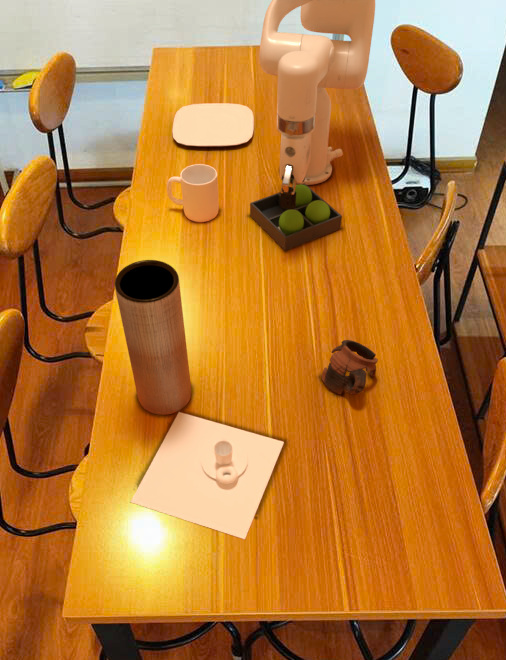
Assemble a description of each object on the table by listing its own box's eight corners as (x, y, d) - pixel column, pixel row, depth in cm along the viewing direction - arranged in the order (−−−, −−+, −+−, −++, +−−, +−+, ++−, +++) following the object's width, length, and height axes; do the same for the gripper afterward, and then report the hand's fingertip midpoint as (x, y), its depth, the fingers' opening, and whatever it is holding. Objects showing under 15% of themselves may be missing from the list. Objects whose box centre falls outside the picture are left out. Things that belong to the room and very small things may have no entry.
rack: (303, 196, 166) (304, 182, 163) (340, 228, 158) (341, 215, 155) (250, 215, 161) (249, 202, 158) (284, 251, 153) (285, 237, 150)
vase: (192, 413, 124) (179, 299, 103) (137, 417, 124) (113, 303, 102) (190, 372, 130) (178, 256, 109) (138, 376, 130) (115, 261, 109)
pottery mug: (312, 368, 131) (331, 331, 127) (353, 379, 135) (373, 344, 131) (331, 404, 122) (353, 366, 118) (375, 415, 125) (397, 378, 121)
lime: (293, 224, 158) (296, 202, 154) (307, 236, 155) (310, 214, 151) (273, 230, 156) (275, 208, 152) (286, 242, 153) (288, 220, 149)
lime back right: (320, 213, 160) (321, 192, 156) (333, 225, 157) (336, 205, 153) (299, 221, 159) (301, 200, 154) (313, 233, 156) (315, 213, 151)
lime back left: (302, 197, 164) (303, 176, 160) (315, 209, 161) (317, 188, 157) (282, 204, 163) (283, 184, 158) (295, 217, 160) (297, 196, 155)
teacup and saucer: (236, 491, 114) (236, 477, 111) (192, 477, 116) (190, 464, 112) (254, 450, 119) (254, 436, 116) (211, 437, 121) (210, 423, 118)
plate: (253, 150, 179) (253, 144, 178) (170, 151, 179) (169, 145, 178) (253, 108, 193) (253, 102, 191) (176, 108, 193) (175, 103, 192)
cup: (215, 224, 159) (213, 186, 151) (164, 219, 161) (160, 181, 153) (222, 203, 164) (220, 165, 157) (173, 199, 166) (169, 161, 158)
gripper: (306, 147, 129) (301, 221, 143) (322, 99, 139) (317, 172, 153) (267, 142, 131) (266, 216, 144) (286, 95, 141) (284, 168, 154)
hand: (292, 193), depth 149 cm, fingers open, 9 cm apart
